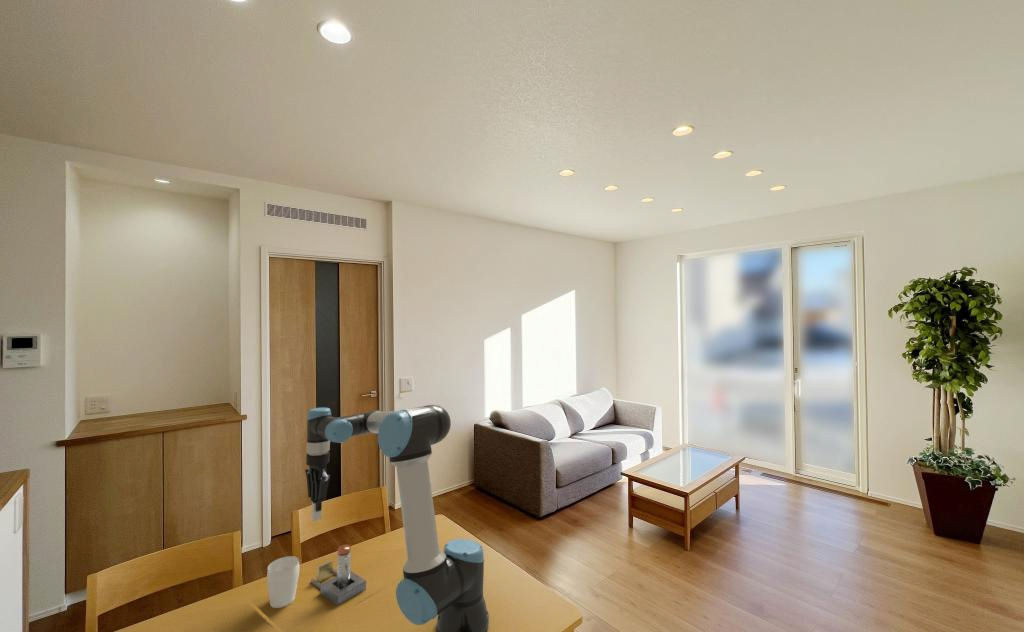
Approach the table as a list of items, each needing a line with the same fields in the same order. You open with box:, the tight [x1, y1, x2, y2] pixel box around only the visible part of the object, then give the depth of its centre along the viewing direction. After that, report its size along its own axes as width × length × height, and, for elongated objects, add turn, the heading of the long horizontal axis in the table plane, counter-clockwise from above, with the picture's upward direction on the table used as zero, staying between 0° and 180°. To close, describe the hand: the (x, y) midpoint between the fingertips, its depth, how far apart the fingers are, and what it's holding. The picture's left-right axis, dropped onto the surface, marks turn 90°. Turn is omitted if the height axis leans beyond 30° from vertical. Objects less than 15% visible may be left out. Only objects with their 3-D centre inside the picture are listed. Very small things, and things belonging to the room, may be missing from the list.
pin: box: [336, 544, 352, 590], centre depth 133 cm, size 4×4×14 cm
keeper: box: [315, 559, 334, 583], centre depth 140 cm, size 2×5×5 cm, turn 144°
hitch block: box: [310, 568, 367, 606], centre depth 136 cm, size 18×14×3 cm
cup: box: [266, 555, 301, 609], centre depth 128 cm, size 9×9×12 cm
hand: (316, 519), depth 144 cm, fingers closed
